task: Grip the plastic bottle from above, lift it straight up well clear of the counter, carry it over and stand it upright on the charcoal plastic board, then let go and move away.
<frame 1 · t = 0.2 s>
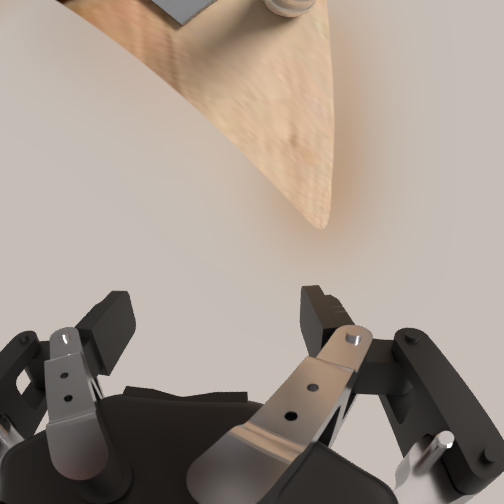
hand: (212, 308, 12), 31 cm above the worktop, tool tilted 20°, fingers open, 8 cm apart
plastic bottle: (285, 1, 24), on the worktop
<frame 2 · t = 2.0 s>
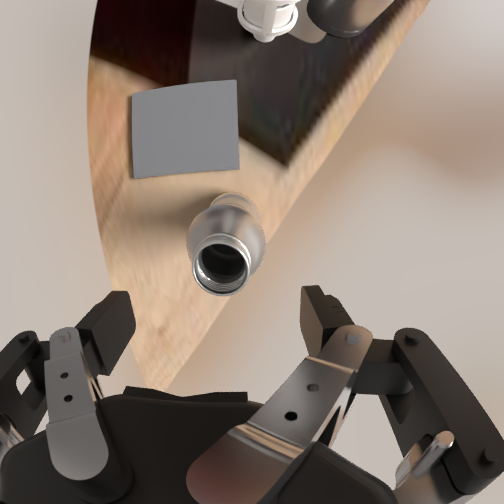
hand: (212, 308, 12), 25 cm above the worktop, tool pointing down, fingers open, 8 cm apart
board: (184, 128, 32), on the worktop
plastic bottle: (234, 214, 36), on the worktop
strainer: (264, 34, 28), on the worktop
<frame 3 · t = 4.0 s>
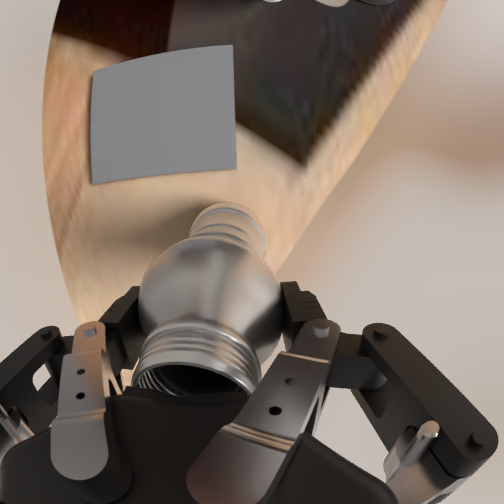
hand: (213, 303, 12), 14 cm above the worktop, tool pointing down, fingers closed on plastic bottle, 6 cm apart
board: (159, 113, 22), on the worktop
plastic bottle: (229, 233, 26), on the worktop, touching gripper
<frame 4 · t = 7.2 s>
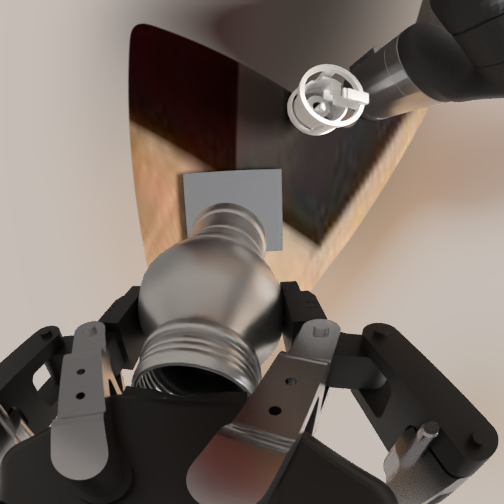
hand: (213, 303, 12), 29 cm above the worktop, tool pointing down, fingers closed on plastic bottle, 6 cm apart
board: (233, 211, 40), on the worktop
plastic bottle: (229, 234, 26), point 15 cm above the worktop, touching gripper
strainer: (304, 117, 37), on the worktop
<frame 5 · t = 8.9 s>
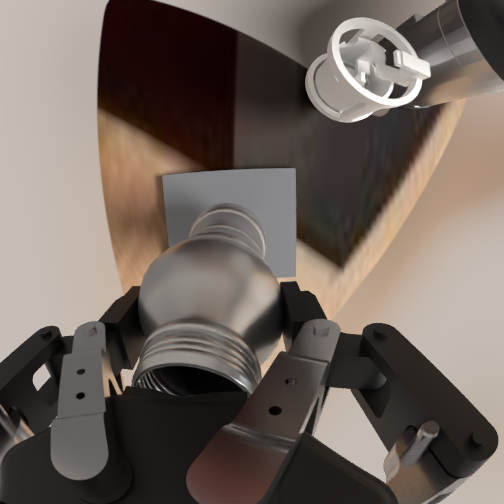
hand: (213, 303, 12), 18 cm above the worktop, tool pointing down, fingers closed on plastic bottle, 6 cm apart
board: (230, 224, 30), on the worktop
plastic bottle: (229, 234, 26), point 5 cm above the worktop, touching gripper
strainer: (325, 100, 26), on the worktop
when the fingers open (16 cm above the worktop, at t = 10.4 s): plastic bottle drops 1 cm, resting on board.
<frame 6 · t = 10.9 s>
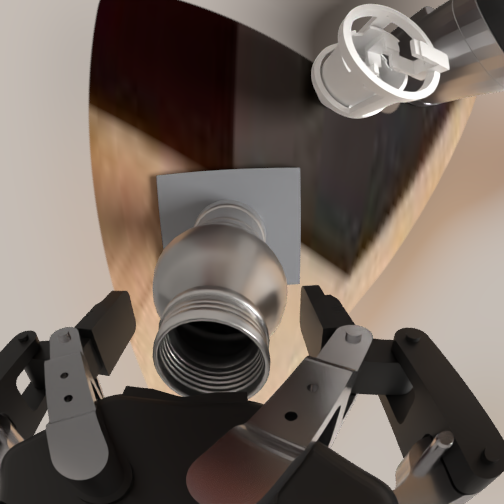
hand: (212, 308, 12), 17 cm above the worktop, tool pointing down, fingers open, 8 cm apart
board: (230, 228, 28), on the worktop
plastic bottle: (230, 230, 27), point 1 cm above the worktop, touching board
strainer: (331, 96, 24), on the worktop
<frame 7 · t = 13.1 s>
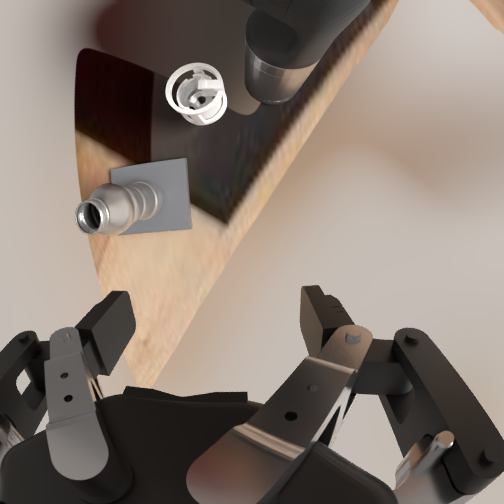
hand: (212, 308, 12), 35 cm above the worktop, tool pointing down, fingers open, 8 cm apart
board: (150, 197, 45), on the worktop
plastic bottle: (149, 197, 44), point 1 cm above the worktop, touching board
strainer: (208, 111, 41), on the worktop
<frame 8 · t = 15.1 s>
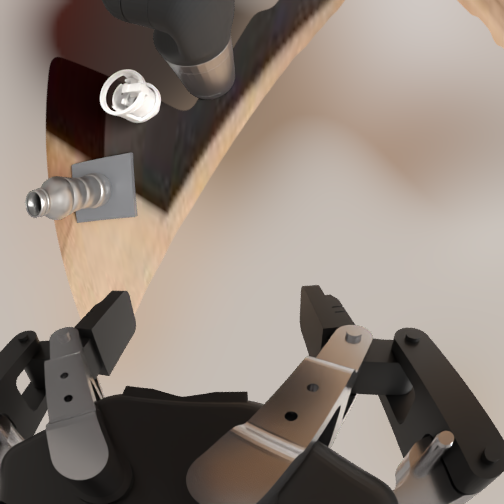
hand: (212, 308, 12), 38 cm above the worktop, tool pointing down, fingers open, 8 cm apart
board: (103, 188, 47), on the worktop
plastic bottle: (101, 188, 46), point 1 cm above the worktop, touching board
strainer: (151, 109, 43), on the worktop
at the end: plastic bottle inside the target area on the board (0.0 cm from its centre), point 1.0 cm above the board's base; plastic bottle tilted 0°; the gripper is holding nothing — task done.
